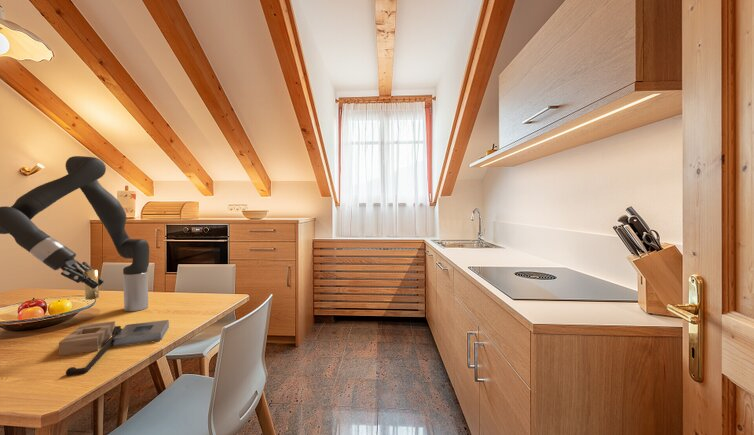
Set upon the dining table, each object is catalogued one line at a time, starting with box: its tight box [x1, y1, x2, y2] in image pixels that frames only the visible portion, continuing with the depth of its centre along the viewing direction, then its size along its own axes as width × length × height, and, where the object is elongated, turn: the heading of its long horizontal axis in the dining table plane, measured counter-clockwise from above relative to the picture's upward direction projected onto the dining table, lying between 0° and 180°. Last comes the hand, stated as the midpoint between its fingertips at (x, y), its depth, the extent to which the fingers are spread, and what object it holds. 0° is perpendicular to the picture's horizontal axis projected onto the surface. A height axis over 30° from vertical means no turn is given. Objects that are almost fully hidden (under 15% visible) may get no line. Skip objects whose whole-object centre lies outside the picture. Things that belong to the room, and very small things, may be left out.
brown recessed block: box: [58, 320, 116, 357], centre depth 115 cm, size 17×10×4 cm, turn 23°
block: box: [113, 319, 170, 348], centre depth 122 cm, size 14×14×3 cm
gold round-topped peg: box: [84, 268, 100, 301], centre depth 115 cm, size 4×4×10 cm
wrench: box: [65, 325, 123, 377], centre depth 108 cm, size 5×5×30 cm
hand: (98, 285), depth 116 cm, fingers closed on gold round-topped peg, 3 cm apart
